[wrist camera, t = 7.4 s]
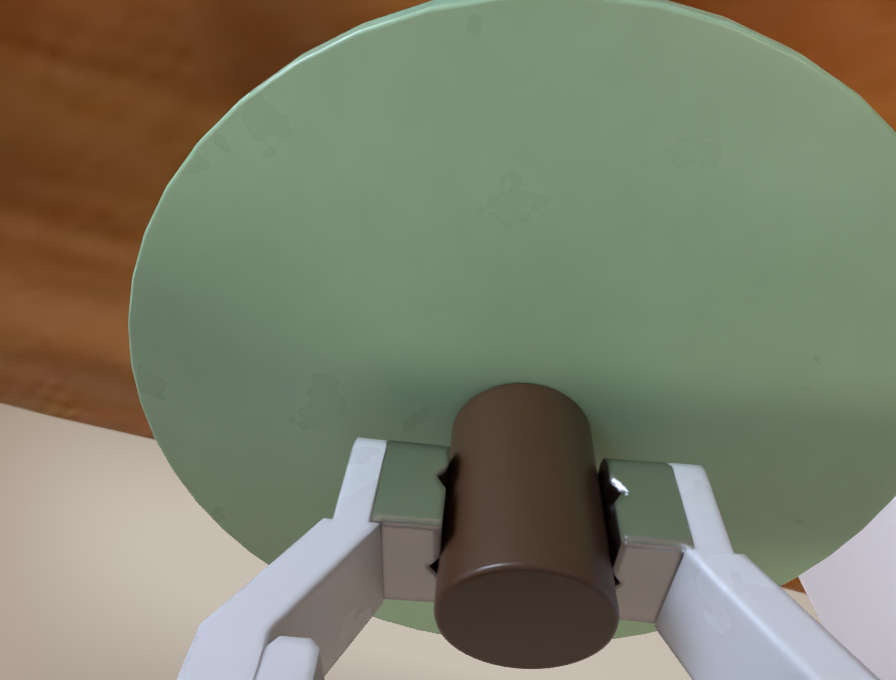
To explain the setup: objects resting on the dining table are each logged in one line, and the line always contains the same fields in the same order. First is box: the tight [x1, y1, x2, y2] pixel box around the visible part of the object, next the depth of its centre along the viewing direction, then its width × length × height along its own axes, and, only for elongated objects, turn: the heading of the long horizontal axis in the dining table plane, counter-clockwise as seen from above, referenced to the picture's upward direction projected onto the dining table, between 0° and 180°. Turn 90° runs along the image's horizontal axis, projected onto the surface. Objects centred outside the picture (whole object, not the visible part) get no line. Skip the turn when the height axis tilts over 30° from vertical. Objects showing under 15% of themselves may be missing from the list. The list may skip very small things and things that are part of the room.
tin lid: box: [128, 0, 896, 669], centre depth 10 cm, size 14×14×5 cm
